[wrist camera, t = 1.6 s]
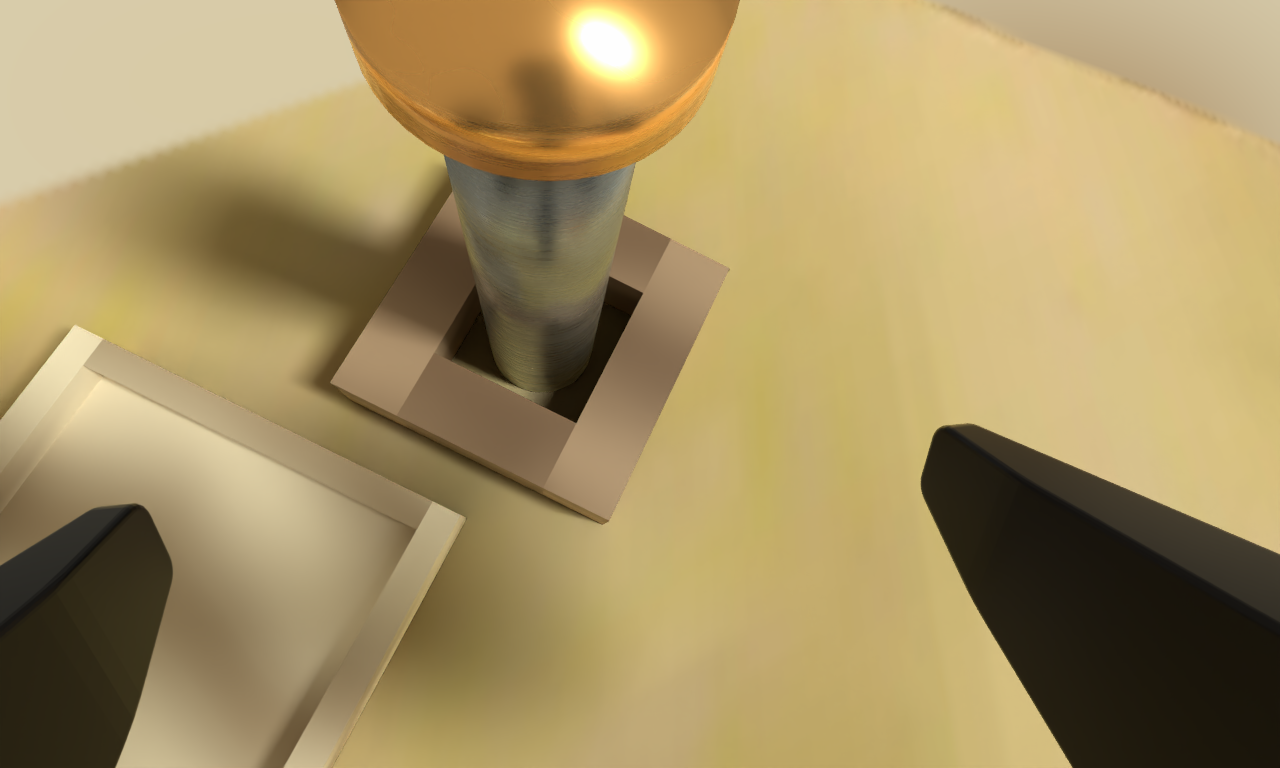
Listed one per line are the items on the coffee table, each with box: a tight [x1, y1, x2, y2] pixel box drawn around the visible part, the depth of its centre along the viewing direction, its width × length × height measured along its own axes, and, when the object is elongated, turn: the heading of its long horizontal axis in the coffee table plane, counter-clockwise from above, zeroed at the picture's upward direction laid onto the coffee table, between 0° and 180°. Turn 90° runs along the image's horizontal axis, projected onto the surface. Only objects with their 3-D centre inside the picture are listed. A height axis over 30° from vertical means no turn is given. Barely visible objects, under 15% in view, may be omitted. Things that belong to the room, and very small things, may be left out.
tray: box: [0, 325, 467, 768], centre depth 17 cm, size 11×11×2 cm
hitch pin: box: [335, 0, 740, 392], centre depth 14 cm, size 4×4×14 cm
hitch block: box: [330, 191, 729, 524], centre depth 20 cm, size 8×8×2 cm
